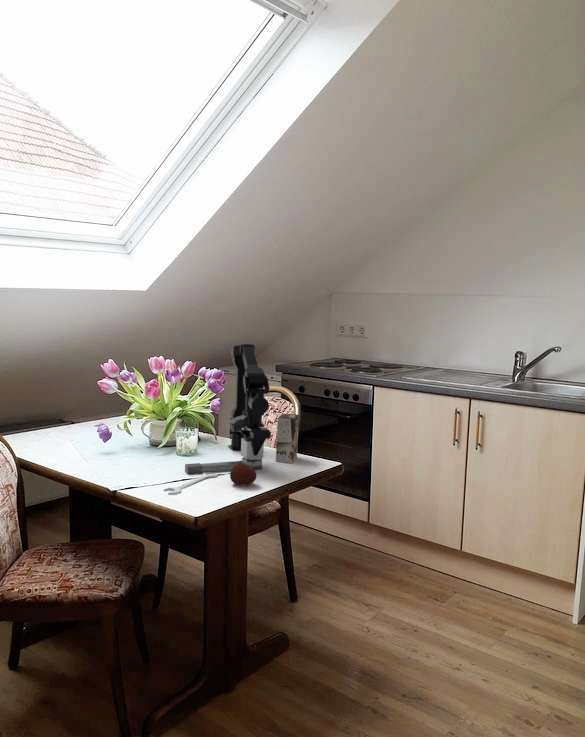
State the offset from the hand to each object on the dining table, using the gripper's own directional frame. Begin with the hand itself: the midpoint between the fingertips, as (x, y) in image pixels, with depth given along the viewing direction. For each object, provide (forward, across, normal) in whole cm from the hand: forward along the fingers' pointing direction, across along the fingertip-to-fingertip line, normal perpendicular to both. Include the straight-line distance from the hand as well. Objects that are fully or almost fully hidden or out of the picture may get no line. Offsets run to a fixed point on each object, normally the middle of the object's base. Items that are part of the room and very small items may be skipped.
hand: (252, 453), depth 225 cm
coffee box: (+5, -7, +16) cm, 18 cm away
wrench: (+6, +12, -24) cm, 27 cm away
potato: (+5, +17, -9) cm, 20 cm away
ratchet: (+5, 0, -10) cm, 11 cm away
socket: (+1, 0, 0) cm, 1 cm away
